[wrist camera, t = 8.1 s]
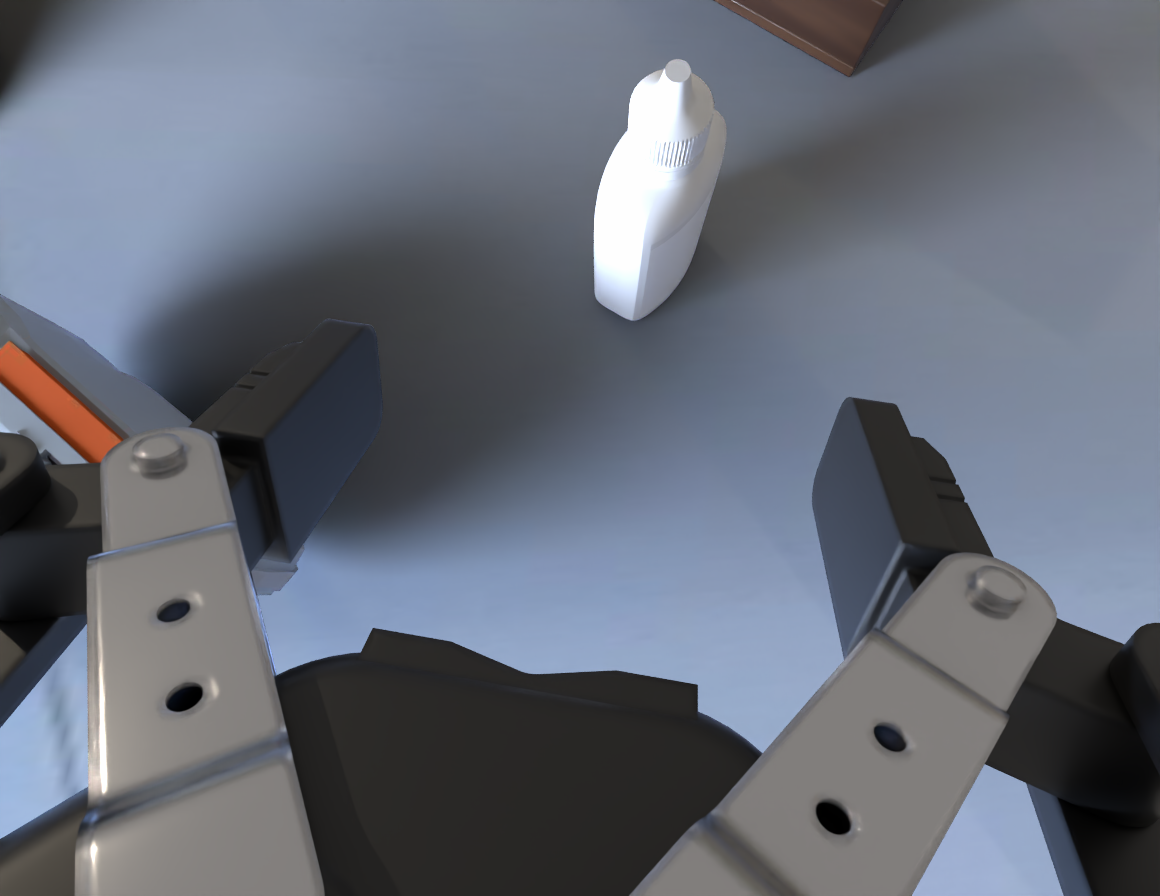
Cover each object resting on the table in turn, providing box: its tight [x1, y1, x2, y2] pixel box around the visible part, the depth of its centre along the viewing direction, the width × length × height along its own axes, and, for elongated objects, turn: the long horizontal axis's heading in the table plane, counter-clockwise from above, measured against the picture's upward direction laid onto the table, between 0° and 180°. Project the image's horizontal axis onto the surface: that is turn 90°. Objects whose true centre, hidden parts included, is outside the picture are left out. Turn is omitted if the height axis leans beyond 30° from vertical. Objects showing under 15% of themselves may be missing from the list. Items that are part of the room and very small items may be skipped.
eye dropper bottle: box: [594, 59, 727, 321], centre depth 24 cm, size 4×6×12 cm
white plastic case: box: [0, 294, 304, 595], centre depth 25 cm, size 14×3×8 cm, turn 51°
